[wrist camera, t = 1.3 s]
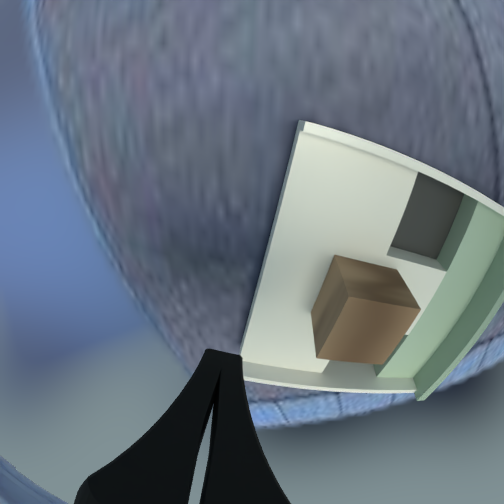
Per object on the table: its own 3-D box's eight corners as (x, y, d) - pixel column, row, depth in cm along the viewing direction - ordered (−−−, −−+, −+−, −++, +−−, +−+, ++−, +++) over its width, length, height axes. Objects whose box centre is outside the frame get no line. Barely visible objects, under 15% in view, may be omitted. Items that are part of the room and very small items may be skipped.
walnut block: (397, 269, 16) (421, 309, 12) (368, 321, 18) (382, 364, 14) (334, 254, 16) (348, 296, 12) (310, 312, 18) (316, 358, 14)
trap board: (504, 208, 14) (538, 232, 11) (412, 366, 23) (424, 400, 19) (298, 120, 14) (308, 121, 10) (240, 346, 23) (233, 388, 19)
